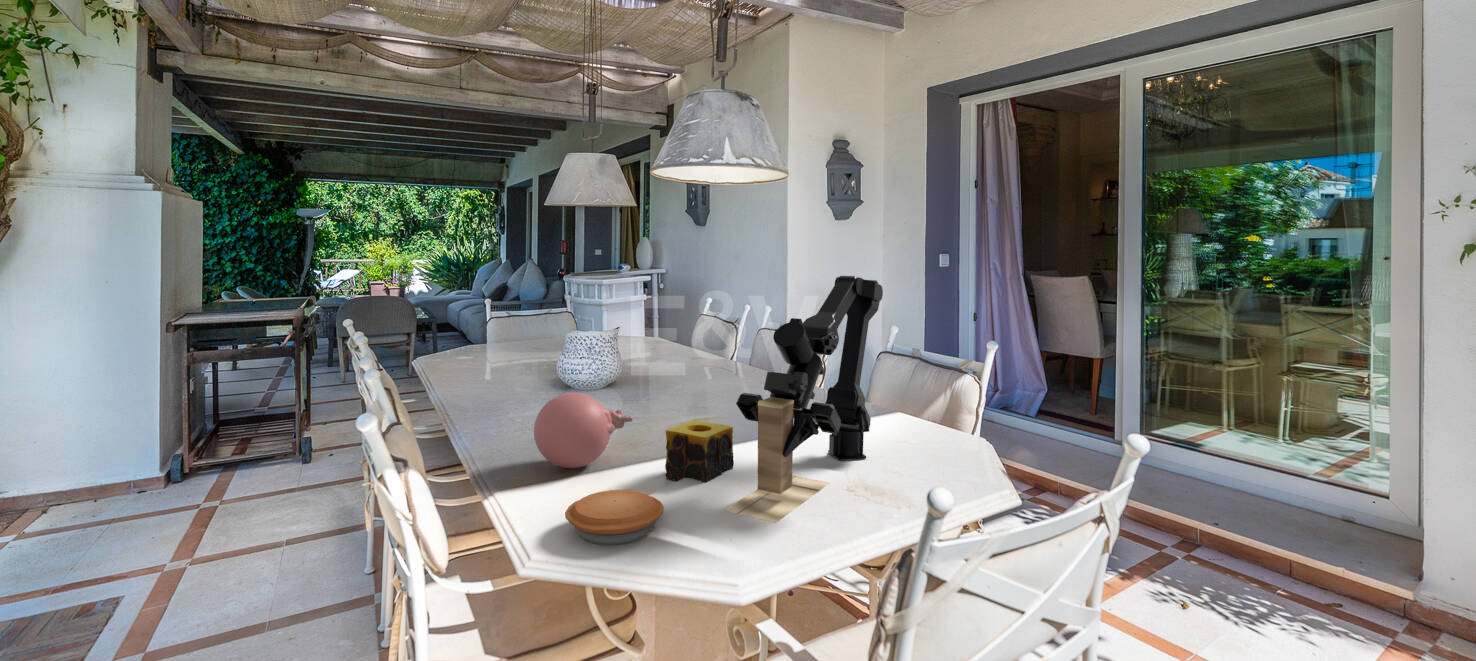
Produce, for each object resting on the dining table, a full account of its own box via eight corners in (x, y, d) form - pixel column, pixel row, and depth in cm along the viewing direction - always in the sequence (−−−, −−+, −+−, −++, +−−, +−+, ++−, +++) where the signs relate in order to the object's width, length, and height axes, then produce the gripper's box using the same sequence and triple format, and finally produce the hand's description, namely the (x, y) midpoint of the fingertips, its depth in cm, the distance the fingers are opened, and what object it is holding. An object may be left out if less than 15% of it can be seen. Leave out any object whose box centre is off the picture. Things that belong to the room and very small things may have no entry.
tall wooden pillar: (769, 481, 121) (770, 396, 119) (792, 486, 119) (793, 400, 117) (757, 489, 117) (757, 401, 115) (780, 494, 115) (781, 405, 113)
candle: (706, 489, 127) (706, 438, 125) (663, 479, 132) (663, 430, 131) (734, 474, 135) (735, 426, 134) (694, 465, 140) (694, 419, 139)
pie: (601, 506, 118) (601, 479, 117) (680, 520, 112) (680, 492, 112) (545, 541, 104) (544, 510, 103) (631, 559, 98) (631, 527, 97)
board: (782, 479, 132) (783, 473, 132) (830, 488, 127) (830, 482, 127) (723, 516, 113) (723, 510, 113) (775, 529, 108) (776, 522, 108)
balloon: (635, 475, 134) (634, 399, 132) (530, 480, 130) (528, 403, 128) (632, 452, 149) (631, 384, 147) (538, 456, 145) (536, 387, 143)
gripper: (741, 349, 123) (708, 421, 115) (836, 358, 114) (807, 437, 106) (761, 384, 131) (732, 453, 123) (852, 395, 122) (826, 471, 114)
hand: (771, 453), depth 116 cm, fingers closed on tall wooden pillar, 4 cm apart
